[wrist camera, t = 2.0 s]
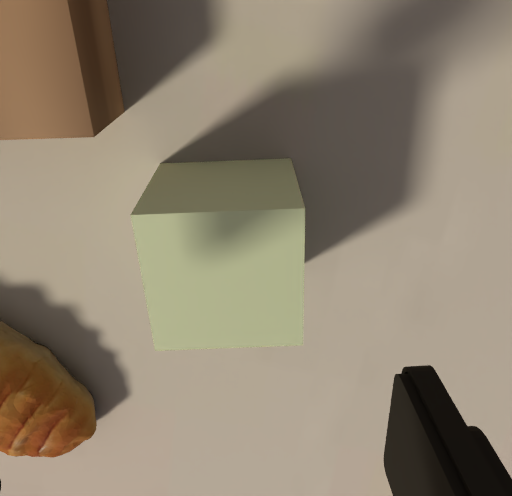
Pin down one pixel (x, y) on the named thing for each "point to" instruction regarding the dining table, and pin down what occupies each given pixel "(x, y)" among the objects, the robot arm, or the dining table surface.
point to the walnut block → (57, 69)
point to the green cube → (222, 254)
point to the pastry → (39, 400)
